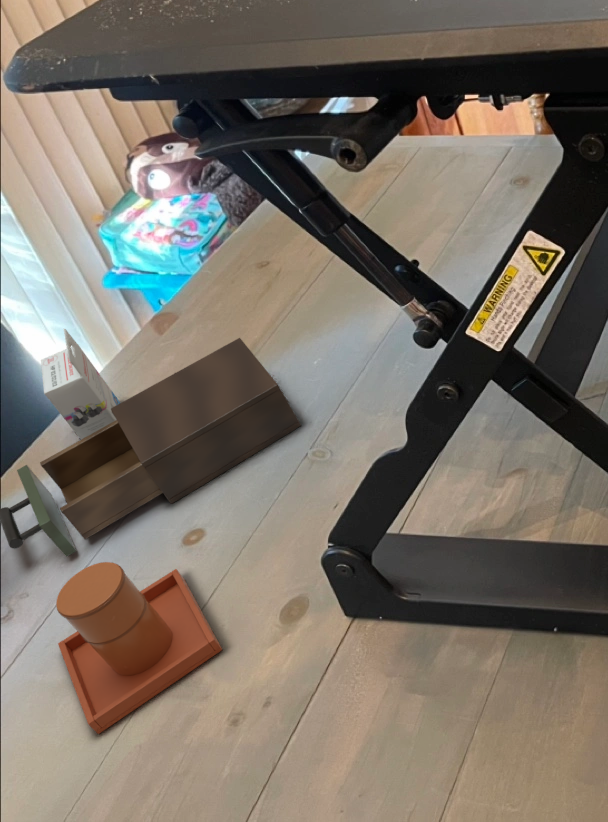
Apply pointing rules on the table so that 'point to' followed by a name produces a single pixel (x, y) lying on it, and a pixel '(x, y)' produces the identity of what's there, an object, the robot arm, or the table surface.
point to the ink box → (78, 389)
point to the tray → (120, 695)
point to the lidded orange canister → (114, 618)
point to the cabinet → (205, 419)
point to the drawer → (83, 489)
